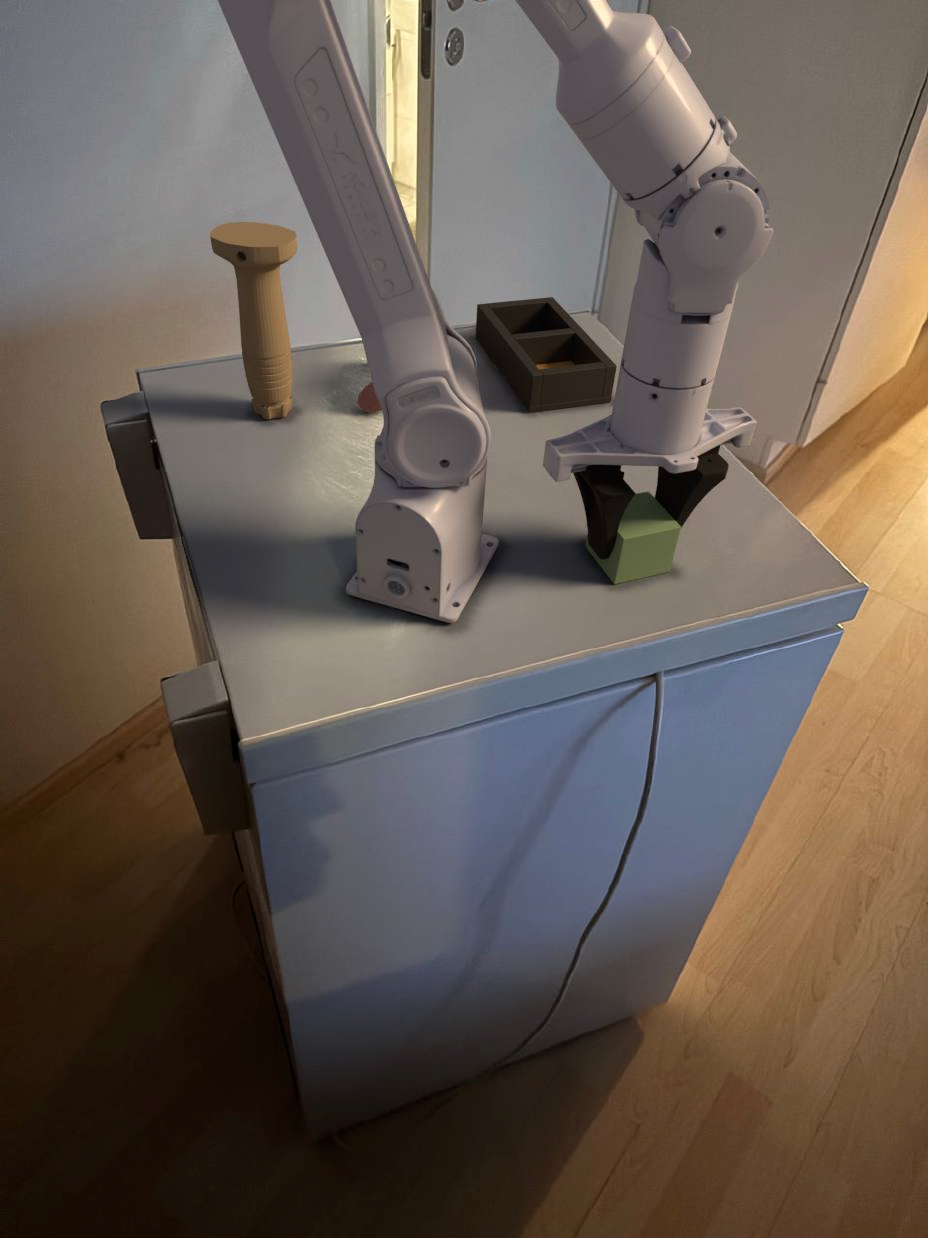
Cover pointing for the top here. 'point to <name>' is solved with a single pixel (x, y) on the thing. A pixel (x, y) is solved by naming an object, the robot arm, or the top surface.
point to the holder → (544, 354)
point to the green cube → (641, 541)
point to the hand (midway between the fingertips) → (629, 543)
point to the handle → (261, 308)
